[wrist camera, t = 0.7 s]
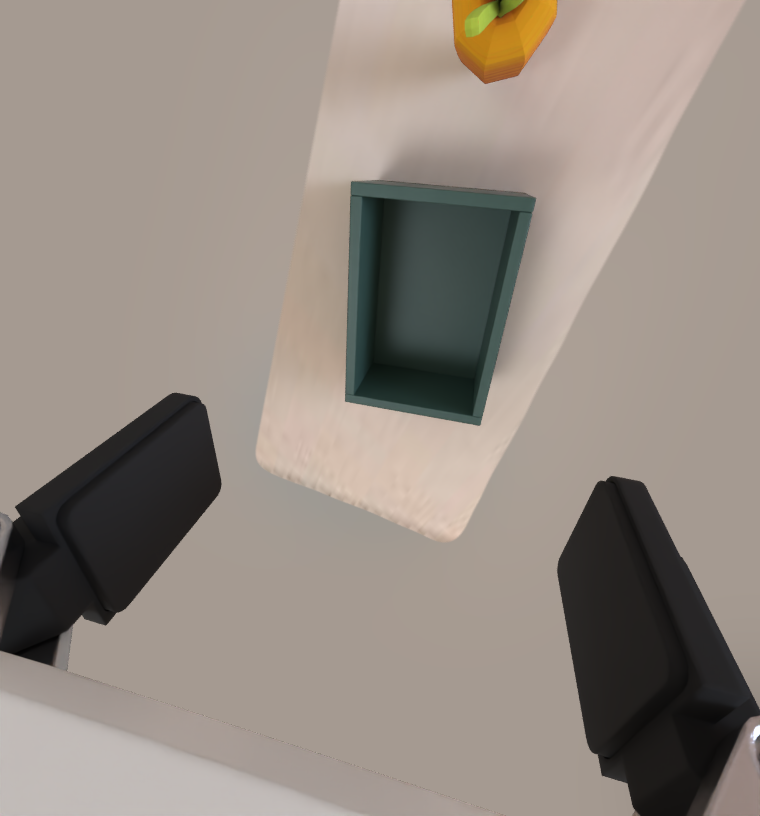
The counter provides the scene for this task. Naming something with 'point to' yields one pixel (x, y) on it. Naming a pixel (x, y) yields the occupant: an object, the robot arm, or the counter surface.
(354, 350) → the bin
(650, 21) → the counter surface
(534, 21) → the carrot
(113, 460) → the robot arm
